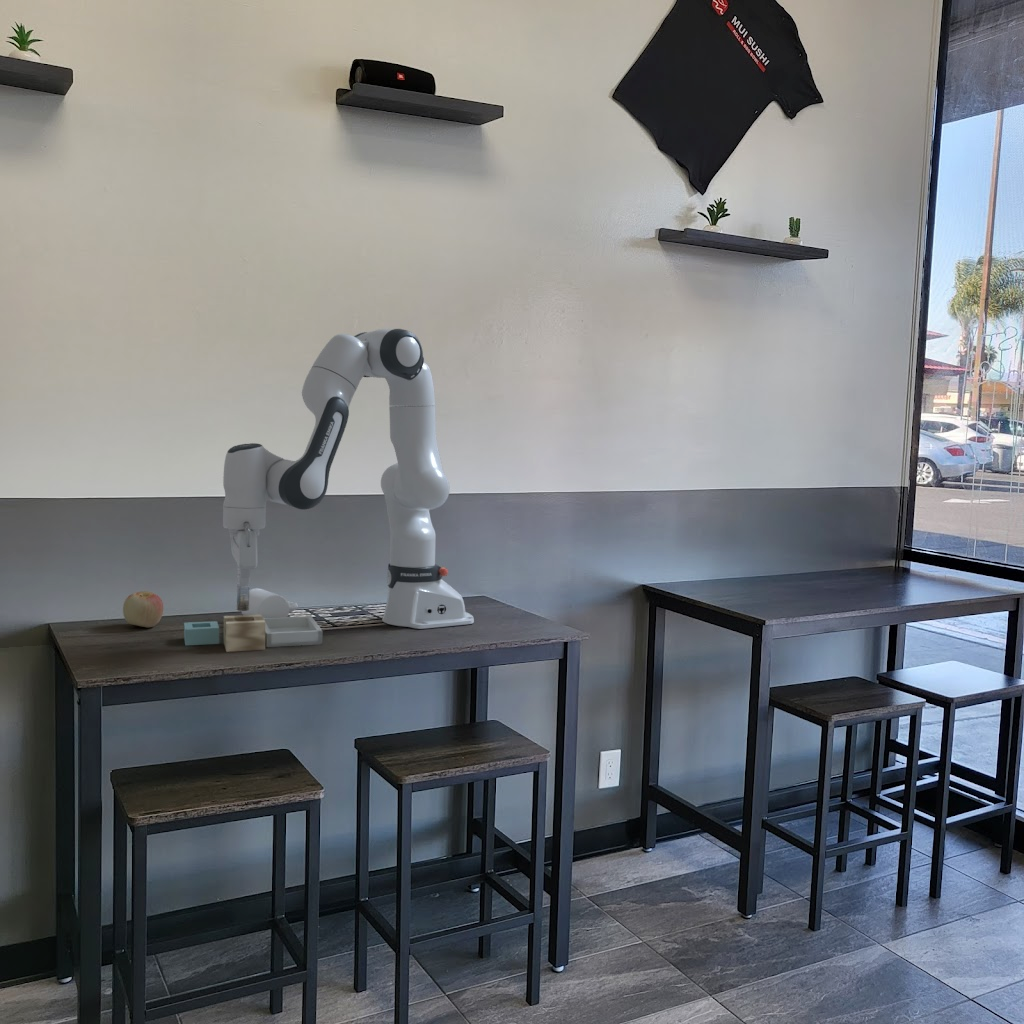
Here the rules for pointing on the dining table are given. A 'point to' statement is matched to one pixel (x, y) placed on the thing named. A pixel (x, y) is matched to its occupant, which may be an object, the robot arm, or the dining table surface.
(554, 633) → the dining table surface
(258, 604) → the mug
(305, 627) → the tray
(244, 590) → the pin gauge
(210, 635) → the stand
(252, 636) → the beech block
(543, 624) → the dining table surface
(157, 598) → the apple
